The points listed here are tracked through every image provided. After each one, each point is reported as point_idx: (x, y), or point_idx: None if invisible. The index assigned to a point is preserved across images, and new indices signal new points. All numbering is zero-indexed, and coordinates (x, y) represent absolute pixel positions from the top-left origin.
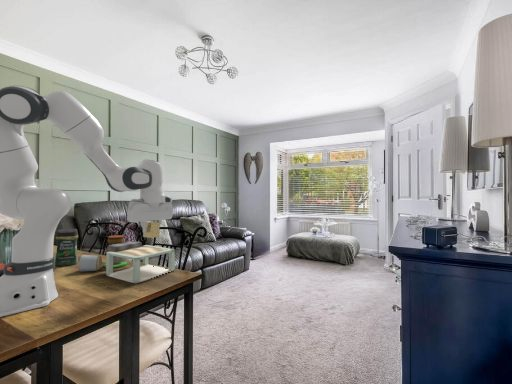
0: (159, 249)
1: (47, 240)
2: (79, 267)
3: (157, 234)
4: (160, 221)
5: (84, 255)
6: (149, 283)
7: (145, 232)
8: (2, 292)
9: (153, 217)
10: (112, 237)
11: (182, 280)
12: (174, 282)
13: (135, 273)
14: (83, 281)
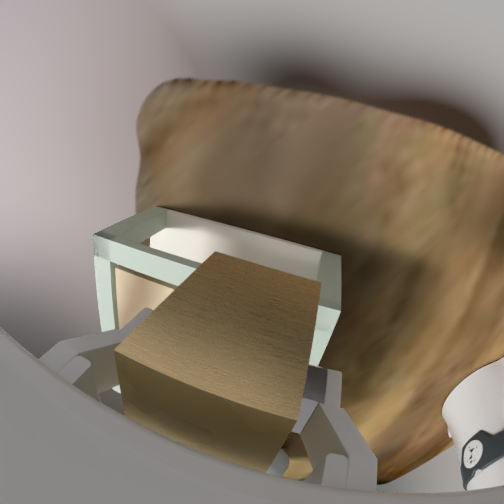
0: (128, 307)
1: None
2: (288, 458)
3: (226, 267)
4: (63, 361)
5: None
6: (323, 202)
7: (333, 371)
8: None
9: (166, 497)
10: None
11: (241, 94)
12: (276, 109)
13: (340, 274)
14: (353, 408)
